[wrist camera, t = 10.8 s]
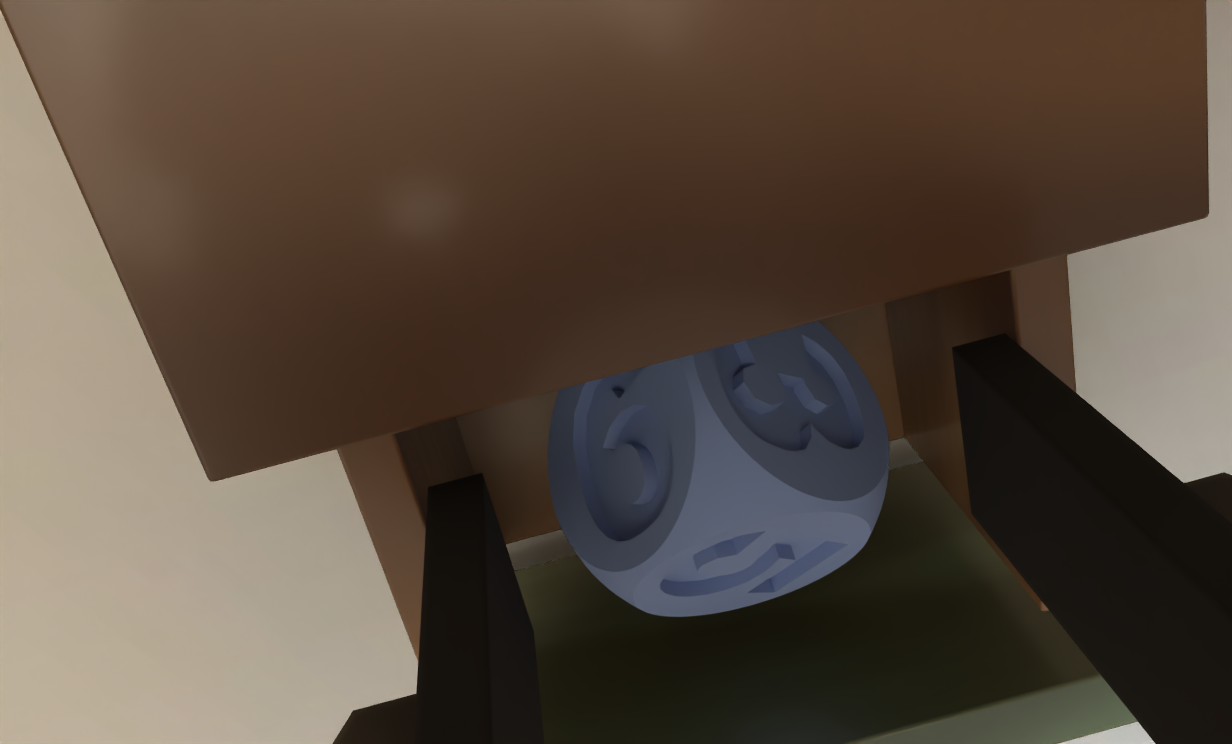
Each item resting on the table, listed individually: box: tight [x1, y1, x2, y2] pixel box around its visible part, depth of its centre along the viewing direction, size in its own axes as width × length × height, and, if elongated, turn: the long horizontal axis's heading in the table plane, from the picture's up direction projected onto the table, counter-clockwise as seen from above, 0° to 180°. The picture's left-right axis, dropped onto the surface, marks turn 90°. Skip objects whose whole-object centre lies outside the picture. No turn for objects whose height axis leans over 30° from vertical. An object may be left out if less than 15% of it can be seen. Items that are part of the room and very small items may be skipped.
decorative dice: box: [548, 321, 889, 617], centre depth 19 cm, size 4×4×4 cm
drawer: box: [337, 255, 1138, 744], centre depth 20 cm, size 16×11×7 cm
